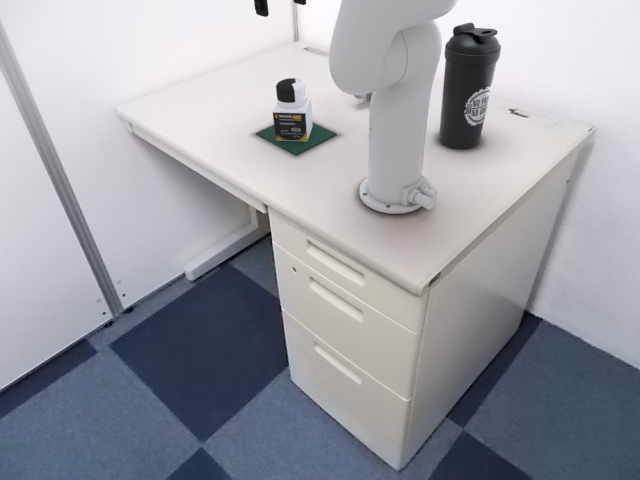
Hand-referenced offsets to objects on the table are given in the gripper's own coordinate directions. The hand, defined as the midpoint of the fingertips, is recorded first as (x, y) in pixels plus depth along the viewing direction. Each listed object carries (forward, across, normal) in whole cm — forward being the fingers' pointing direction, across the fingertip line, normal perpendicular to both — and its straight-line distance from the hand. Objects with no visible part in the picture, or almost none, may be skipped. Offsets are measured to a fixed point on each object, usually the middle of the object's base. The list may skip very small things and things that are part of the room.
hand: (281, 9), depth 97 cm
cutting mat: (+26, +2, +4) cm, 26 cm away
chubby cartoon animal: (+26, -22, +5) cm, 34 cm away
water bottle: (+26, -20, +32) cm, 45 cm away
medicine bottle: (+25, +2, +4) cm, 26 cm away
